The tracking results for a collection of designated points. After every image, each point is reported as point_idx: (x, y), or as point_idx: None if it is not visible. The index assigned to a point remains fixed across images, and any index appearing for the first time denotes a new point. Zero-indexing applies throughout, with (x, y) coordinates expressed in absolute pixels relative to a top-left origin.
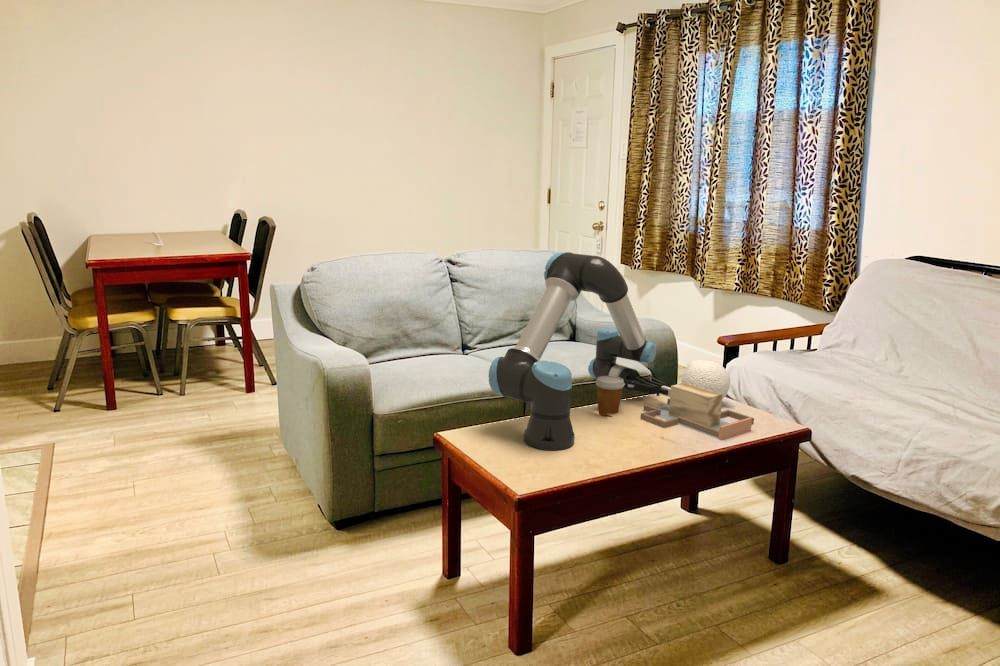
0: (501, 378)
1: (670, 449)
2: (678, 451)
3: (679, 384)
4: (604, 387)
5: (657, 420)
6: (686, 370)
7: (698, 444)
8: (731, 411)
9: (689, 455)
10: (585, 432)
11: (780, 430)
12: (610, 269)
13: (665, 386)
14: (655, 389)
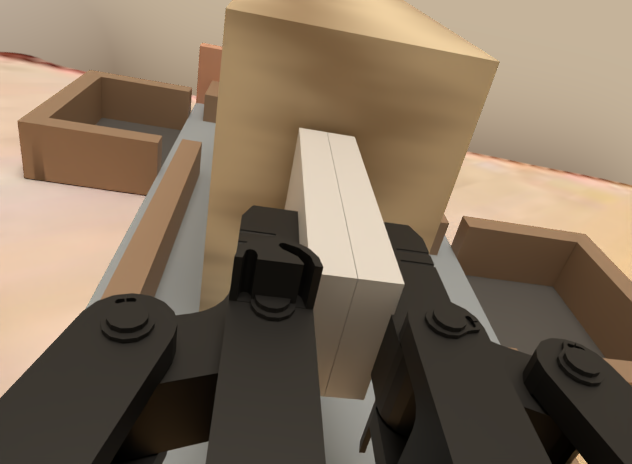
0: None
1: (613, 208)
2: (587, 192)
3: (362, 31)
4: None
5: (616, 272)
6: None
7: (474, 176)
8: (50, 110)
9: (561, 172)
10: None
11: (56, 77)
12: None
13: (326, 243)
14: (516, 365)
